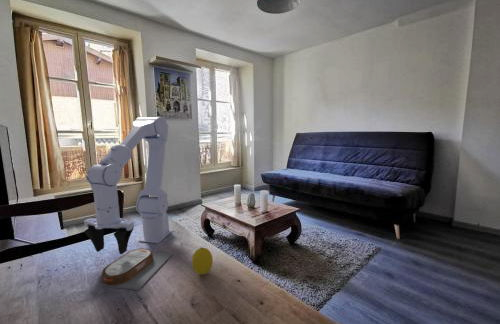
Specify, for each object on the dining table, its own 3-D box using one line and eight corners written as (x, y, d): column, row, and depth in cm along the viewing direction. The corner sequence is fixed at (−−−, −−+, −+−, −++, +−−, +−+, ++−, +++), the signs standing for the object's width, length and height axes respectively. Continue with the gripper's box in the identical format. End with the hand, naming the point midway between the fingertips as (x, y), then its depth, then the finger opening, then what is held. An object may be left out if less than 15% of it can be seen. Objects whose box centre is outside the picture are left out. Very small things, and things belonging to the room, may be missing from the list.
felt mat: (141, 251, 79) (141, 250, 79) (172, 254, 77) (172, 253, 77) (100, 285, 62) (100, 284, 62) (138, 290, 60) (138, 289, 60)
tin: (94, 282, 63) (120, 290, 61) (94, 271, 62) (120, 279, 60) (136, 253, 77) (159, 259, 75) (136, 244, 77) (159, 249, 74)
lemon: (188, 274, 67) (187, 248, 65) (205, 266, 71) (204, 240, 69) (200, 283, 63) (199, 255, 62) (217, 274, 67) (216, 247, 66)
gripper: (72, 209, 65) (78, 256, 67) (119, 212, 63) (124, 261, 65) (93, 201, 72) (98, 243, 74) (137, 204, 69) (140, 248, 72)
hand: (111, 251), depth 70 cm, fingers open, 7 cm apart
